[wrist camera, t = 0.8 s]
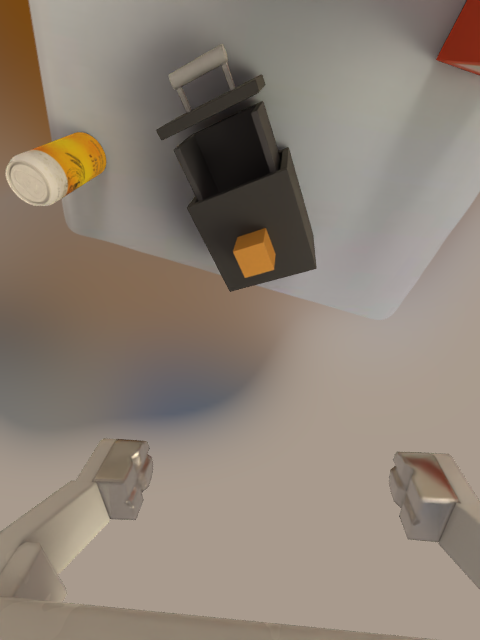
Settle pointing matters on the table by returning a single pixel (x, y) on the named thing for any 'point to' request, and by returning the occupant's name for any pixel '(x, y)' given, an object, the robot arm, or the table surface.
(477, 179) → the table surface
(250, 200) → the dark grey open box
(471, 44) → the file binder
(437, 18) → the table surface
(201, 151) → the drawer
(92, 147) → the vitamin bottle
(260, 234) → the block
